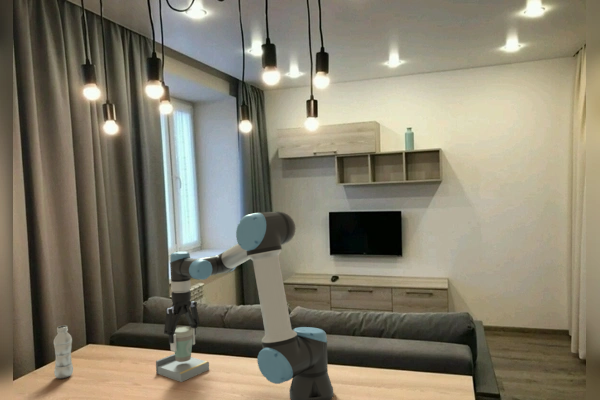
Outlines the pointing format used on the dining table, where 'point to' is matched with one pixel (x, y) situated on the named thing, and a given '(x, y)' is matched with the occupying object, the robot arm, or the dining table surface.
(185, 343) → the coffee cup
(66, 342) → the plastic bottle
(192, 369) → the plate
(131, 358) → the dining table surface
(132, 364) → the dining table surface
